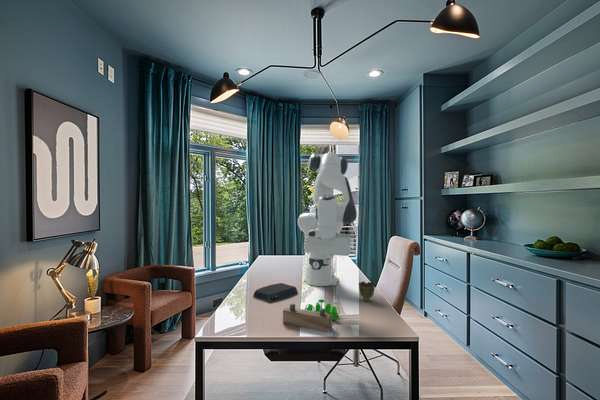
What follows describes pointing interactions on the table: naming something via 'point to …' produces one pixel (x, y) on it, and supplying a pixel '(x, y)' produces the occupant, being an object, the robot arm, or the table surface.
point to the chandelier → (327, 309)
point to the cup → (366, 290)
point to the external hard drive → (275, 292)
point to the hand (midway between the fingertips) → (327, 263)
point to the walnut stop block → (307, 318)
